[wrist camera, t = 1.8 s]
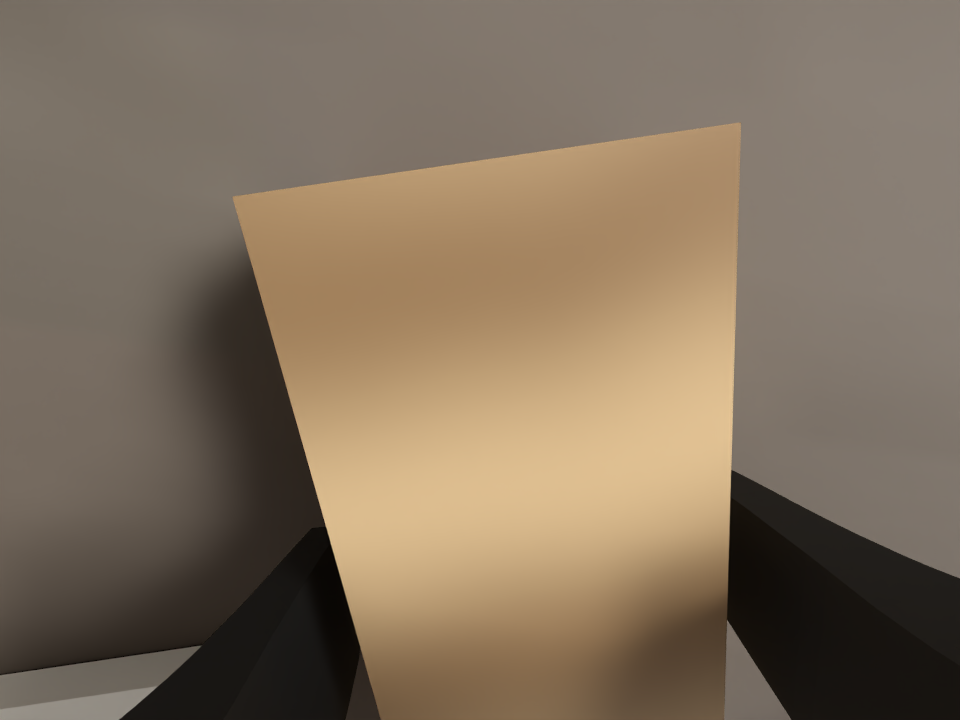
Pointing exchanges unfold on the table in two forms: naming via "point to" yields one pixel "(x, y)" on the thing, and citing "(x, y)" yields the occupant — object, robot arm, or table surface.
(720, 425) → the tan wooden block
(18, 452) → the table surface
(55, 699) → the peg stand
